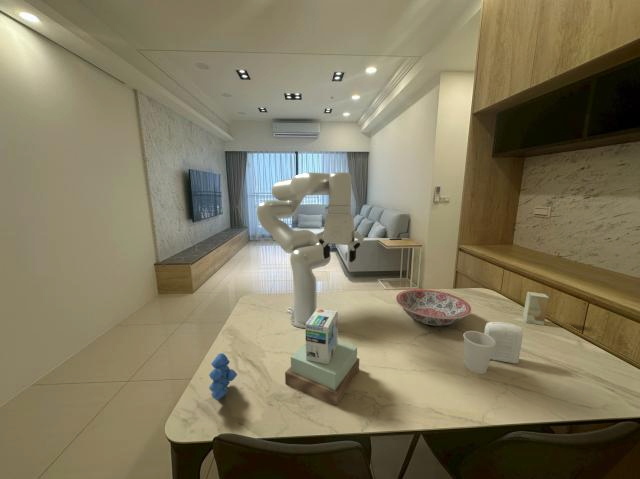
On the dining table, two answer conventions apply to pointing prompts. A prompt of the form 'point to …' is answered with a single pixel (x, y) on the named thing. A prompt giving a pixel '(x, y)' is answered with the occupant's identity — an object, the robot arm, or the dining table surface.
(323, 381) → the tower top block
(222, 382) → the grapes
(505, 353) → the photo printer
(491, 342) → the dixie cup
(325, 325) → the light bulb box
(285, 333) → the dining table surface
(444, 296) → the ceramic bowl
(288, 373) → the tower base block
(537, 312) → the skincare box
